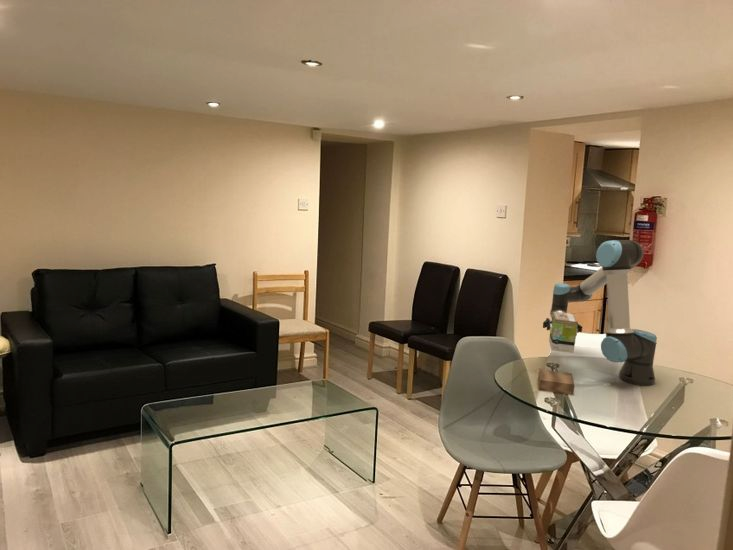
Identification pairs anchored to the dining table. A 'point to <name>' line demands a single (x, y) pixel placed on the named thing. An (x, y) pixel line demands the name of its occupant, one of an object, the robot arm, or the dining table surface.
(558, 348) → the tea box
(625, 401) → the dining table surface
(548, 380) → the walnut block
